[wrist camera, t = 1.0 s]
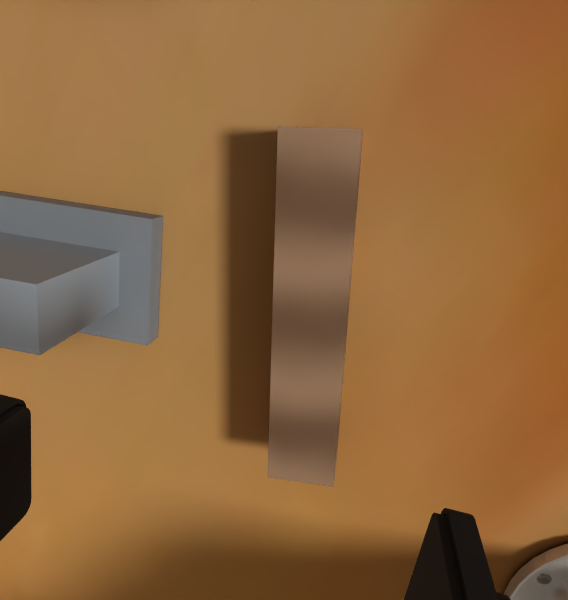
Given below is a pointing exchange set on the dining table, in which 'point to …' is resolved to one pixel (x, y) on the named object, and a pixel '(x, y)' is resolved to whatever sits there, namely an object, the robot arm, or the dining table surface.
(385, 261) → the dining table surface
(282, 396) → the rod
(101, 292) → the ridge
